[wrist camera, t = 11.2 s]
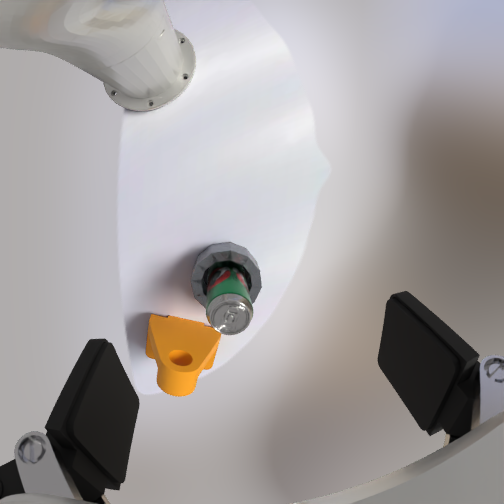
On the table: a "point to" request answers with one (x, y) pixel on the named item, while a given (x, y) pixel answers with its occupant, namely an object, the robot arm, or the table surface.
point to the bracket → (180, 352)
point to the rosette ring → (223, 254)
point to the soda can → (228, 298)
